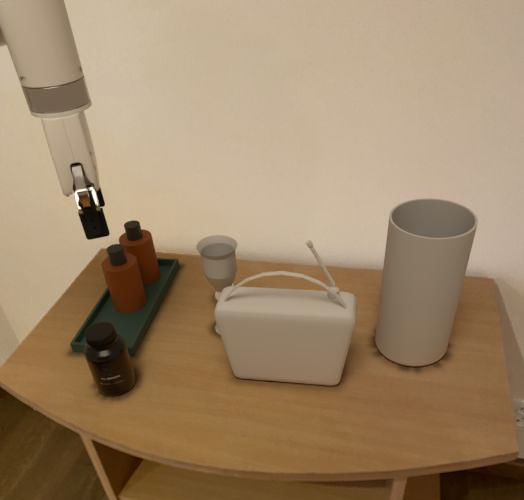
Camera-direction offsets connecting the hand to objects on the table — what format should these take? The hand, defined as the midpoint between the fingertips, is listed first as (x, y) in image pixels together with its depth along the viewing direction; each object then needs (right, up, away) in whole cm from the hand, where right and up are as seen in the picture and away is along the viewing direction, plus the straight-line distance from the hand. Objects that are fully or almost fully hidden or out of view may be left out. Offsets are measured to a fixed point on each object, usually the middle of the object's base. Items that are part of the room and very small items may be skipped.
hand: (96, 221), depth 74 cm
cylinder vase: (+51, -18, +17) cm, 57 cm away
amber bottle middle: (-3, -9, +31) cm, 32 cm away
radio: (+29, -22, +15) cm, 39 cm away
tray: (-3, -10, +31) cm, 33 cm away
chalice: (+18, -15, +24) cm, 33 cm away
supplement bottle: (-1, -25, +14) cm, 29 cm away
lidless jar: (+17, -8, +31) cm, 37 cm away
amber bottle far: (-2, -3, +38) cm, 38 cm away
